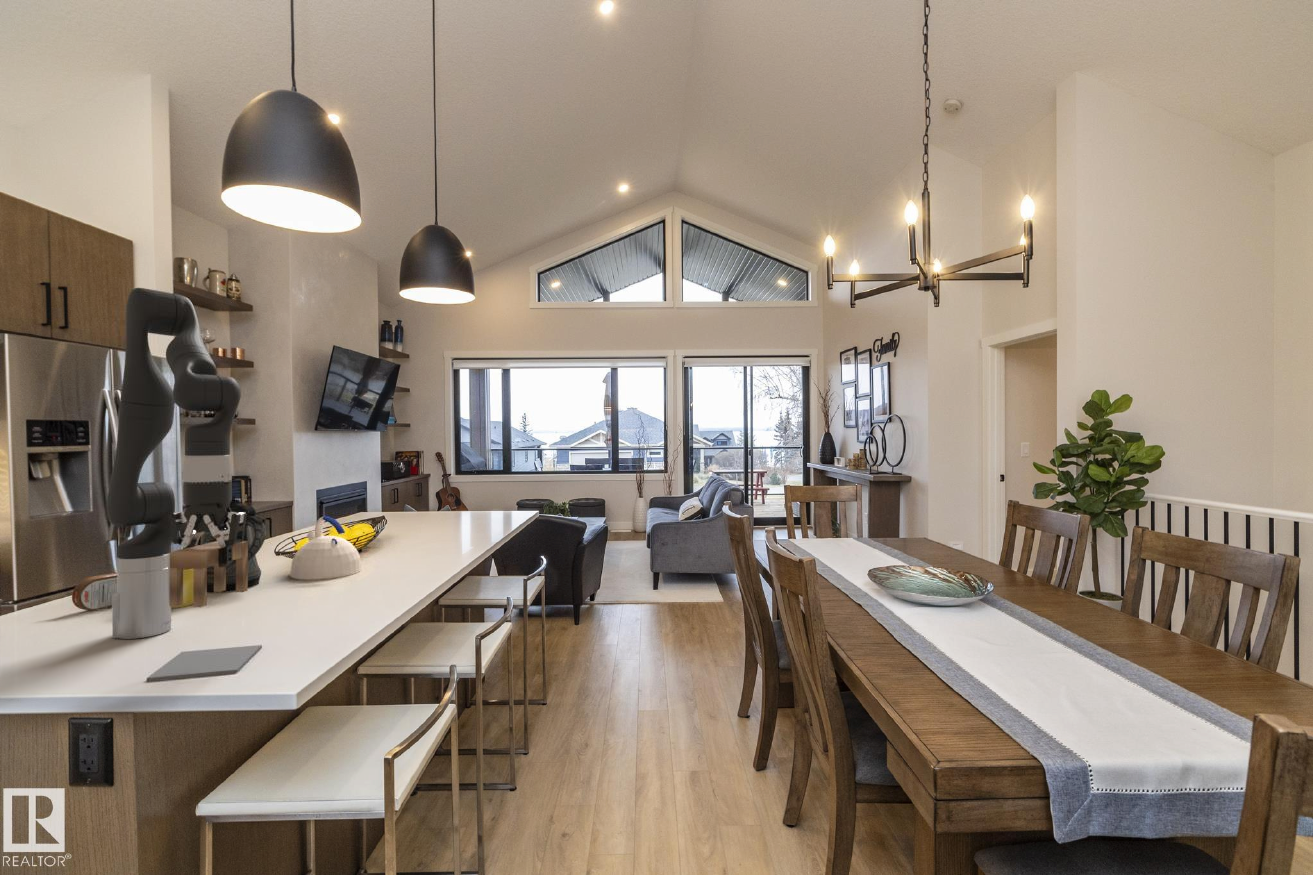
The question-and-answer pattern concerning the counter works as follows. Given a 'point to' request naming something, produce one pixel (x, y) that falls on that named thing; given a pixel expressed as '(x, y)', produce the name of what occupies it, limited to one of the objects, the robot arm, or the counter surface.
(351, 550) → the kettle
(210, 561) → the stool
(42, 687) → the counter surface
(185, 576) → the plant pot
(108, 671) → the counter surface
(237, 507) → the beer stein
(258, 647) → the mat
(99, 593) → the tin
